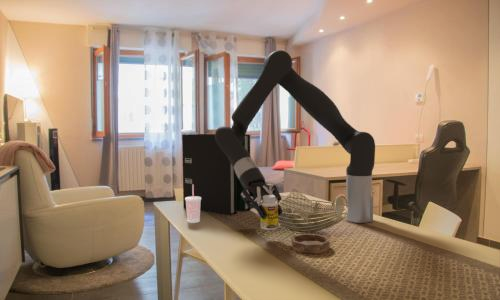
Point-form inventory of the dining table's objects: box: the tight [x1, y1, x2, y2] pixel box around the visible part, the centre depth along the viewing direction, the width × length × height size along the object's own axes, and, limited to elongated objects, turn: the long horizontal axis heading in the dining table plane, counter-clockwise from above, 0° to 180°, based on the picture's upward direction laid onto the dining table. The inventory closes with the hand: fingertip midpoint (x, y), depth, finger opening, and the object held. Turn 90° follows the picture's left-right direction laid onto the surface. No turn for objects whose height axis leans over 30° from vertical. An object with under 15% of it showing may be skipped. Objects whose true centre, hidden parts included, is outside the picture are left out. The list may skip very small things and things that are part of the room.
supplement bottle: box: [259, 195, 279, 231], centre depth 122 cm, size 6×6×10 cm
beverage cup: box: [185, 184, 201, 224], centre depth 146 cm, size 6×6×14 cm
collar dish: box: [291, 233, 330, 255], centre depth 114 cm, size 11×11×3 cm
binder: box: [181, 133, 252, 217], centre depth 167 cm, size 27×15×32 cm, turn 51°
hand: (273, 215), depth 121 cm, fingers closed on supplement bottle, 5 cm apart
